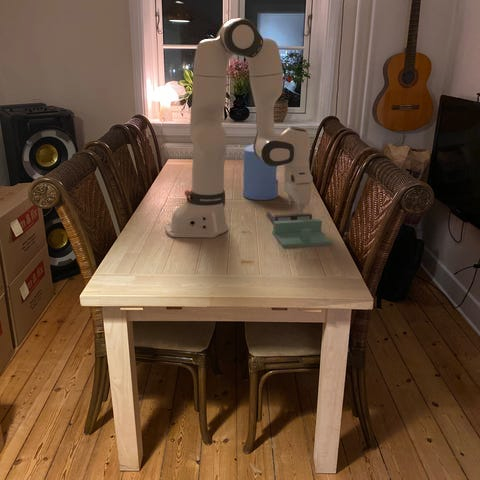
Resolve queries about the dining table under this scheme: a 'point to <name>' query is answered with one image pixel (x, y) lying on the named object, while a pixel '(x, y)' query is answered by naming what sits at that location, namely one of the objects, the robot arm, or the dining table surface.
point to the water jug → (258, 177)
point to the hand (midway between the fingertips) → (295, 209)
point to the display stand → (300, 233)
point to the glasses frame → (289, 217)
